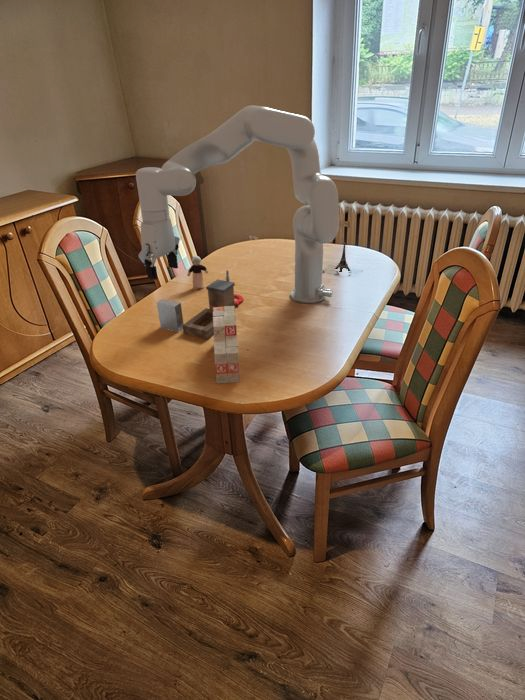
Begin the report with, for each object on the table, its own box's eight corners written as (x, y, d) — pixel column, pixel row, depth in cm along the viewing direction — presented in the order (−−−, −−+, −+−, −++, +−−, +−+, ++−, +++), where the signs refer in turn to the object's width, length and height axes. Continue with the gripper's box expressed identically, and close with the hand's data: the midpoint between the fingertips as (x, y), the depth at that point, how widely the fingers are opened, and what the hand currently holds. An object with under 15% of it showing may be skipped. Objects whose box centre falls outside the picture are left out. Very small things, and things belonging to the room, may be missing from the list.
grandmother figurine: (191, 291, 170) (187, 259, 163) (188, 288, 173) (184, 256, 166) (210, 287, 173) (207, 255, 166) (207, 284, 176) (204, 252, 169)
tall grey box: (166, 323, 149) (162, 298, 144) (184, 328, 146) (180, 302, 141) (160, 327, 147) (156, 302, 142) (178, 332, 144) (174, 306, 139)
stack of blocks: (240, 382, 120) (237, 342, 114) (216, 384, 120) (212, 344, 113) (236, 341, 138) (234, 304, 132) (216, 343, 138) (212, 306, 131)
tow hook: (222, 296, 167) (216, 306, 159) (220, 262, 161) (214, 270, 153) (245, 297, 166) (240, 307, 158) (244, 263, 160) (239, 271, 152)
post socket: (239, 313, 154) (237, 283, 148) (207, 339, 139) (204, 307, 134) (216, 308, 157) (214, 278, 152) (183, 333, 143) (179, 301, 137)
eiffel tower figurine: (319, 273, 183) (321, 241, 176) (328, 265, 191) (330, 233, 184) (355, 279, 177) (358, 246, 170) (363, 270, 185) (366, 238, 178)
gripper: (164, 206, 136) (171, 261, 145) (123, 221, 123) (134, 281, 131) (184, 209, 133) (190, 265, 142) (145, 224, 120) (154, 285, 128)
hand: (163, 273), depth 136 cm, fingers open, 9 cm apart
